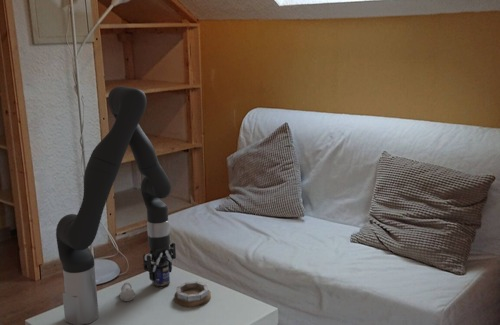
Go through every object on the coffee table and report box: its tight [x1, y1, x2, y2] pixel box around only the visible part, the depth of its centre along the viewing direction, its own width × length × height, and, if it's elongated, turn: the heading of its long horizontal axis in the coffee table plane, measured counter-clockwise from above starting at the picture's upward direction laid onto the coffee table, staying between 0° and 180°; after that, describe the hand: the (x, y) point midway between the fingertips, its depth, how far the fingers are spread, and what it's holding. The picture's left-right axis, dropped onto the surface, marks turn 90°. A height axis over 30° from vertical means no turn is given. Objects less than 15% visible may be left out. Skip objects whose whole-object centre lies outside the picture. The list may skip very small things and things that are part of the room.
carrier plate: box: [174, 280, 212, 308], centre depth 176 cm, size 12×12×4 cm
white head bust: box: [119, 282, 137, 302], centre depth 177 cm, size 4×8×5 cm
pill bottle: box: [151, 255, 171, 289], centre depth 185 cm, size 6×6×11 cm
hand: (161, 276), depth 186 cm, fingers open, 7 cm apart
